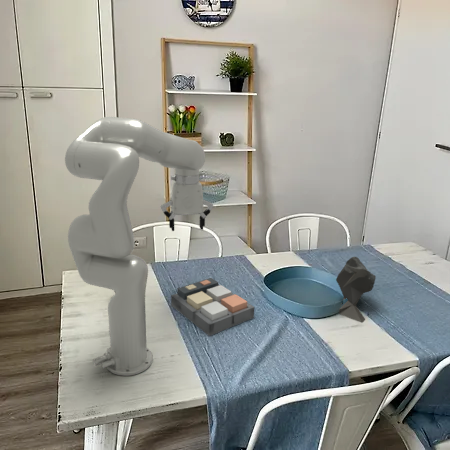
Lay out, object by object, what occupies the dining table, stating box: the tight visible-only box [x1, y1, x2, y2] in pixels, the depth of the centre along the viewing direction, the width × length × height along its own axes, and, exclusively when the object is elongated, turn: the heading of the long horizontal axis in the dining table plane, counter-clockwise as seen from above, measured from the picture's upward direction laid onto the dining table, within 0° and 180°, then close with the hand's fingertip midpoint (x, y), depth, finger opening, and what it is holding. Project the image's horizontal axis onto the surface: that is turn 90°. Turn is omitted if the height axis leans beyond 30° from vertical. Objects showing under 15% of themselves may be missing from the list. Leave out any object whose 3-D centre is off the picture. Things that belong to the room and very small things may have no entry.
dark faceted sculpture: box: [335, 256, 377, 323], centre depth 149 cm, size 14×15×18 cm
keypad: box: [170, 277, 255, 337], centre depth 144 cm, size 18×22×7 cm
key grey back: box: [207, 284, 233, 303], centre depth 147 cm, size 6×6×3 cm
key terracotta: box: [221, 293, 248, 314], centre depth 141 cm, size 6×6×3 cm
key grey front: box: [201, 301, 228, 321], centre depth 136 cm, size 6×6×3 cm
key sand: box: [187, 291, 213, 310], centre depth 142 cm, size 6×6×3 cm
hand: (187, 229), depth 146 cm, fingers open, 9 cm apart
